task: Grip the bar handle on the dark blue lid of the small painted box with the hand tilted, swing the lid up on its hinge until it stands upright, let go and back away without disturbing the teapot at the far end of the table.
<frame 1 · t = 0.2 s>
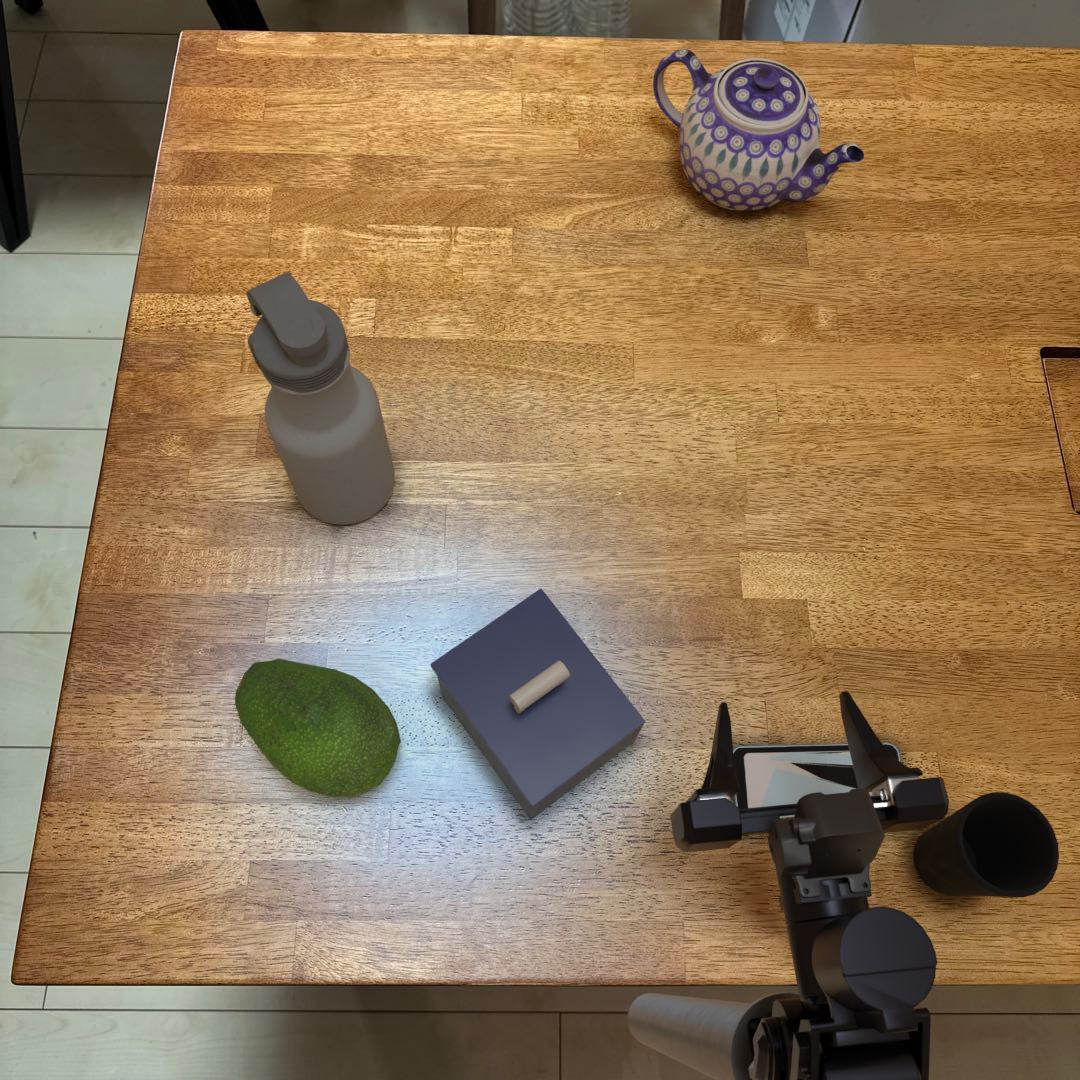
hand: (783, 697, 76), 16 cm above the table, tool horizontal, fingers open, 9 cm apart
smartphone: (816, 787, 90), on the table
box: (537, 718, 91), on the table
water bottle: (345, 481, 100), on the table
lid: (537, 688, 83), point 9 cm above the table, hinge at 0.0°
fruit: (324, 734, 90), on the table
teapot: (736, 178, 117), on the table
cup: (944, 860, 88), on the table
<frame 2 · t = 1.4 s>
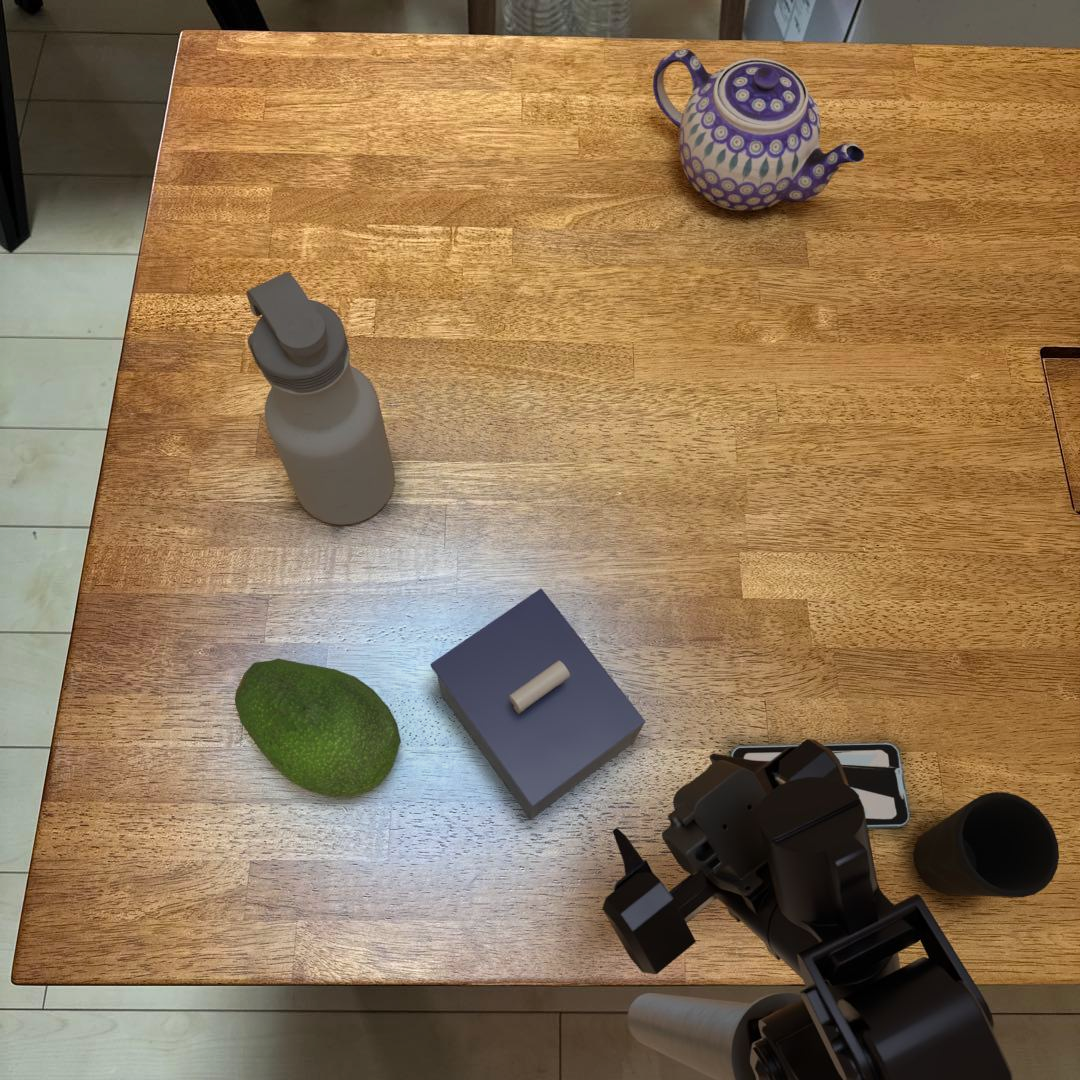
hand: (665, 795, 76), 14 cm above the table, tool tilted 45°, fingers open, 9 cm apart
nothing on the table moved.
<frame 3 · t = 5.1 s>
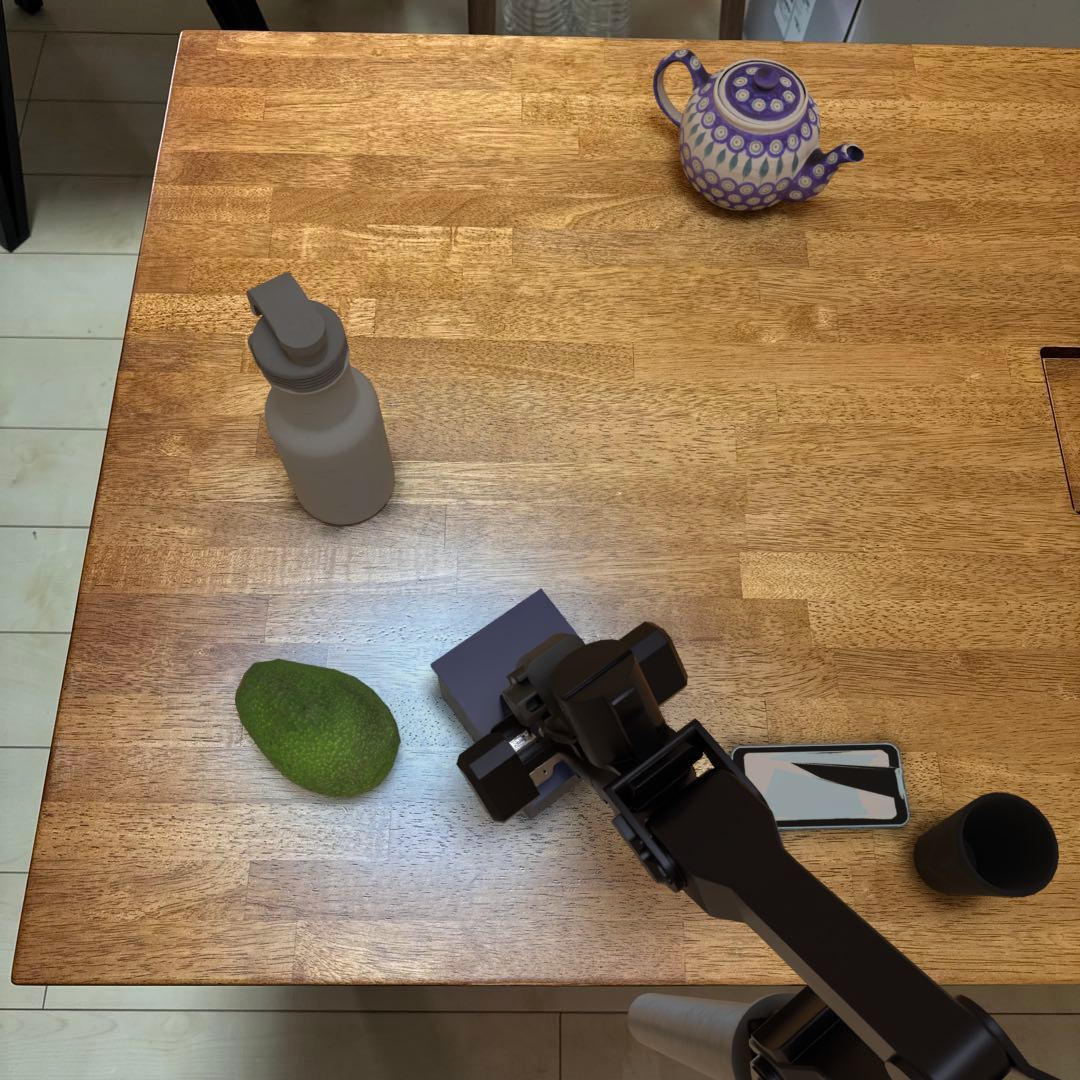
hand: (529, 680, 85), 8 cm above the table, tool tilted 45°, fingers closed on lid, 5 cm apart
lid: (537, 688, 83), point 9 cm above the table, hinge at 0.0°, touching gripper
everything else where it was.
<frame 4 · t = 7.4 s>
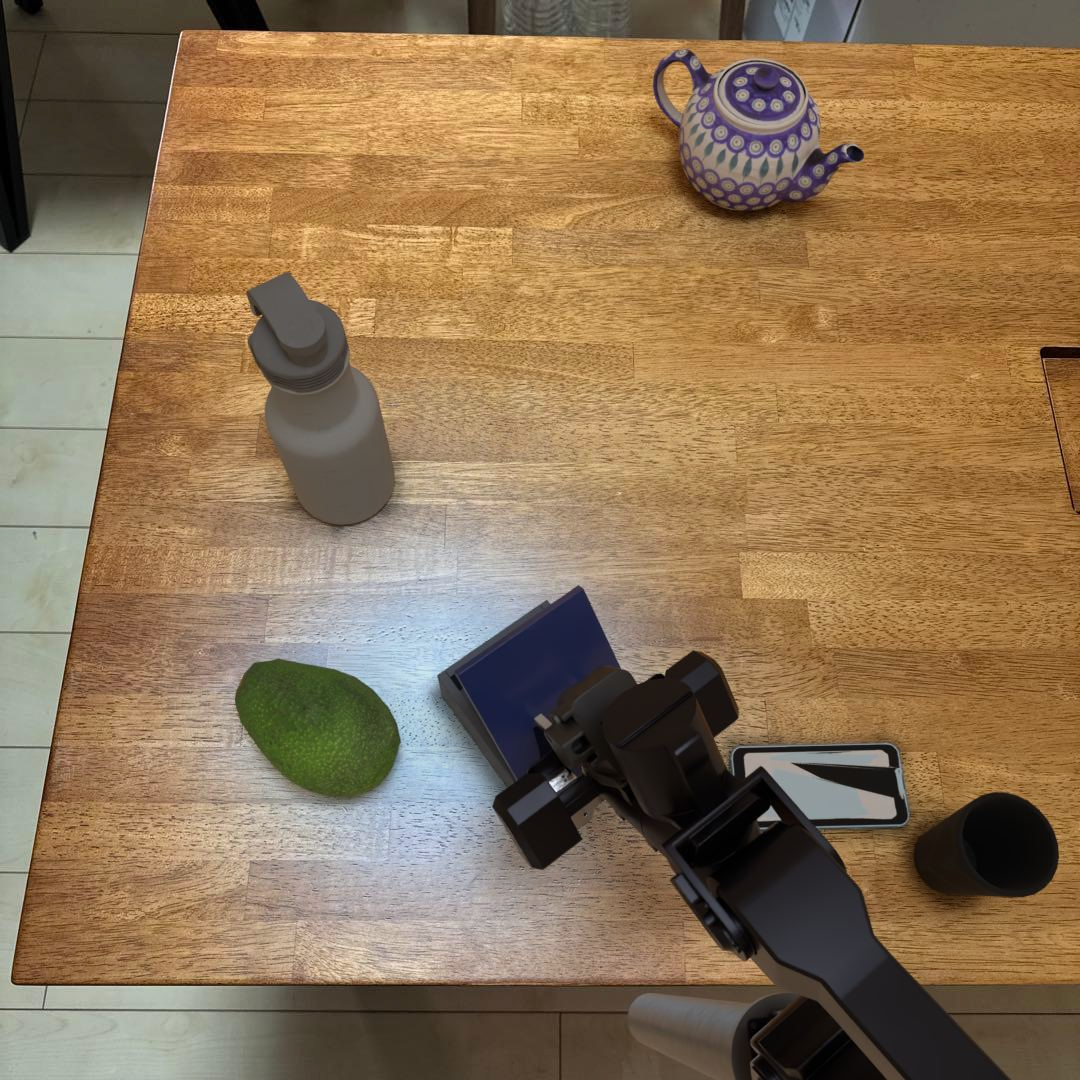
hand: (565, 710, 79), 13 cm above the table, tool tilted 45°, fingers closed on lid, 5 cm apart
lid: (567, 709, 78), point 14 cm above the table, hinge at 46.8°, touching gripper
everything else where it was.
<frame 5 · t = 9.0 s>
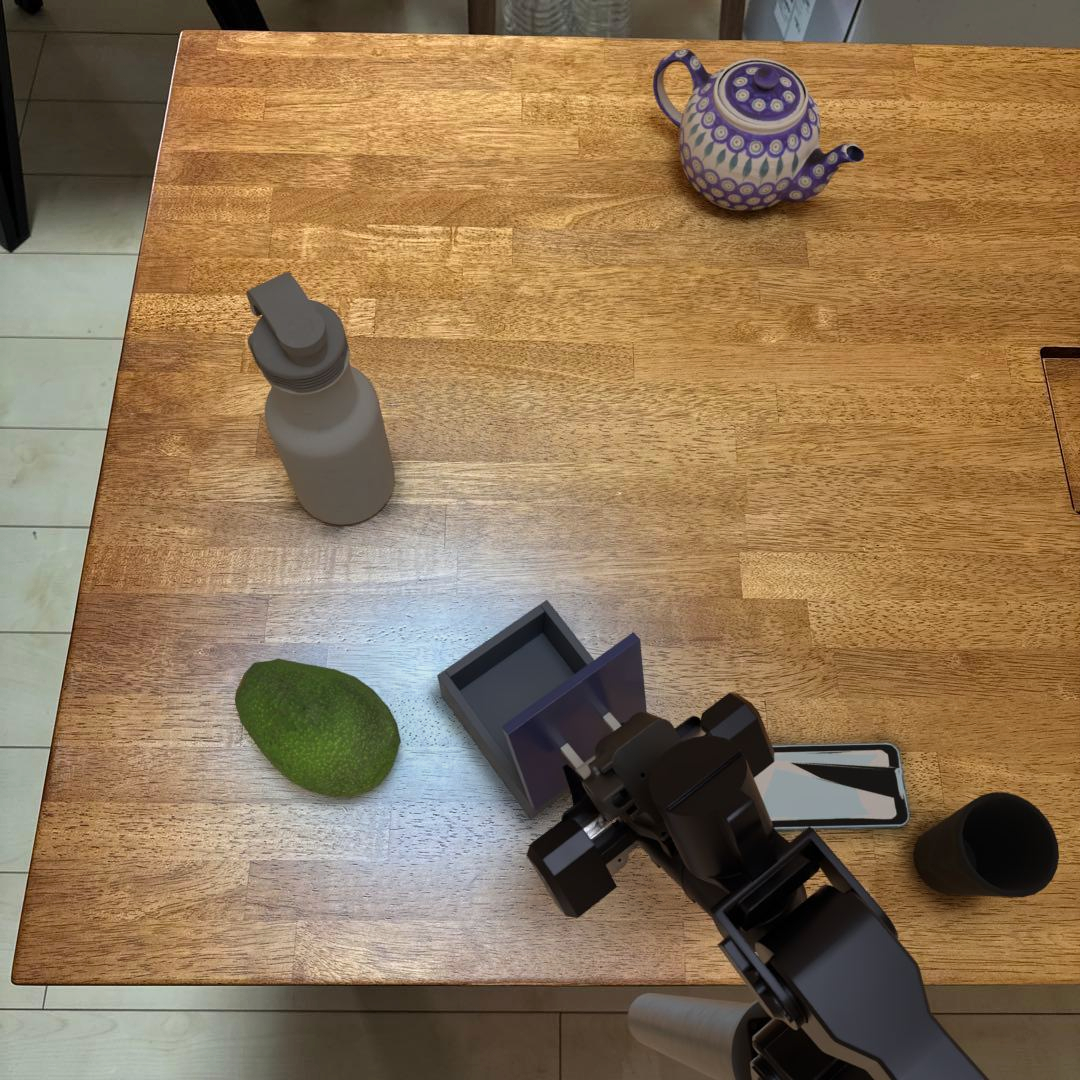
hand: (594, 748, 78), 13 cm above the table, tool tilted 50°, fingers closed on lid, 5 cm apart
lid: (596, 743, 76), point 15 cm above the table, hinge at 75.0°, touching gripper
everything else where it was.
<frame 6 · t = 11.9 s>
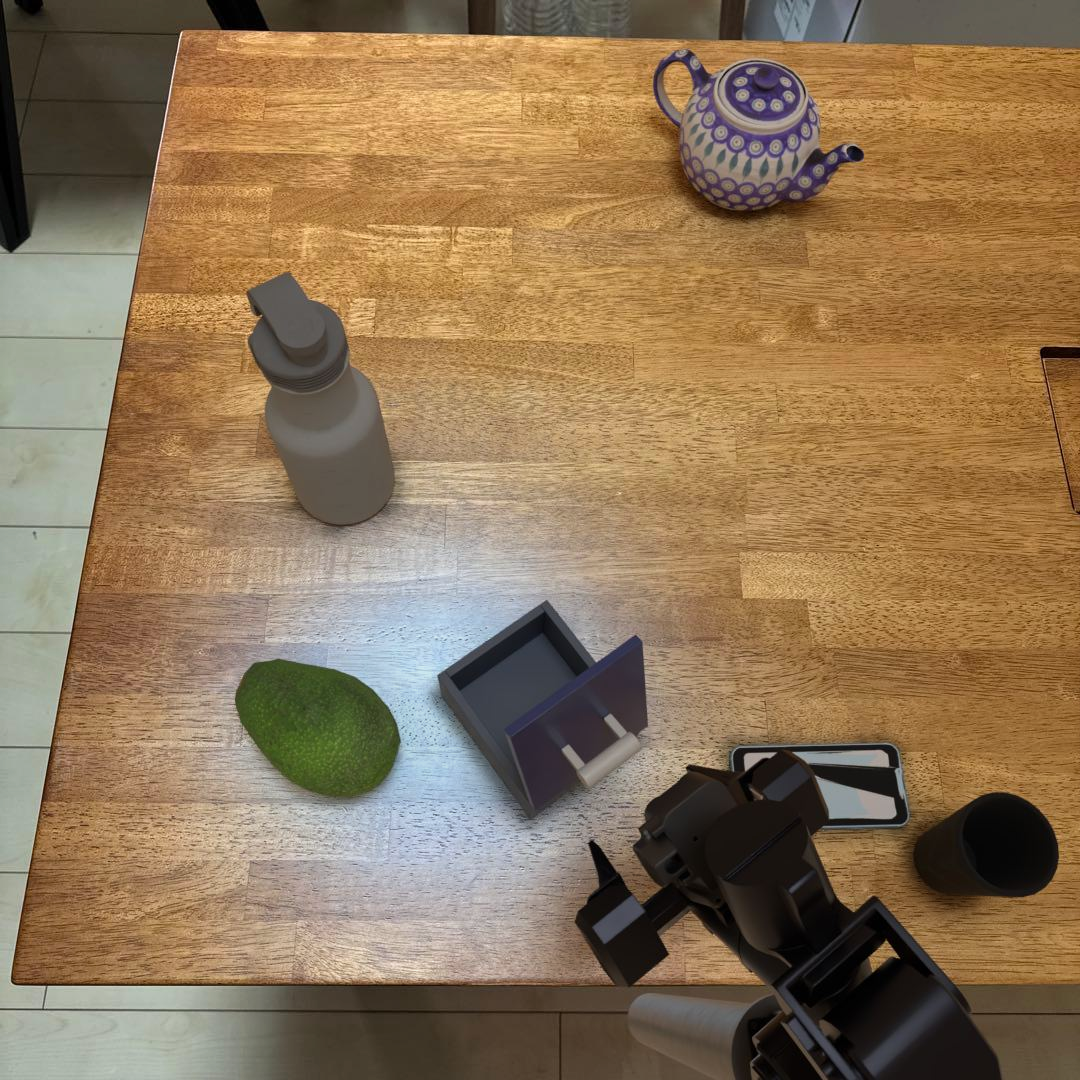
hand: (641, 807, 75), 14 cm above the table, tool tilted 45°, fingers open, 9 cm apart
lid: (597, 744, 76), point 15 cm above the table, hinge at 76.1°
everything else where it was.
at the end: lid at +76° (first picture: +0°); teapot moved 0.2 cm from its start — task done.
